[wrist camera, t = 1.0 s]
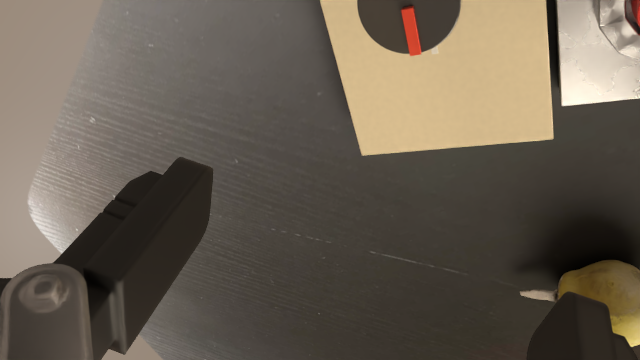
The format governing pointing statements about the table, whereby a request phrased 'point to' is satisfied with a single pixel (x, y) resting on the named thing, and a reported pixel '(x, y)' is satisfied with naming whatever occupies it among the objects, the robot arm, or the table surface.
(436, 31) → the knob
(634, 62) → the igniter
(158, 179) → the robot arm
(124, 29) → the table surface
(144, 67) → the table surface
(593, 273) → the fruit
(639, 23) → the button
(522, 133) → the panel
